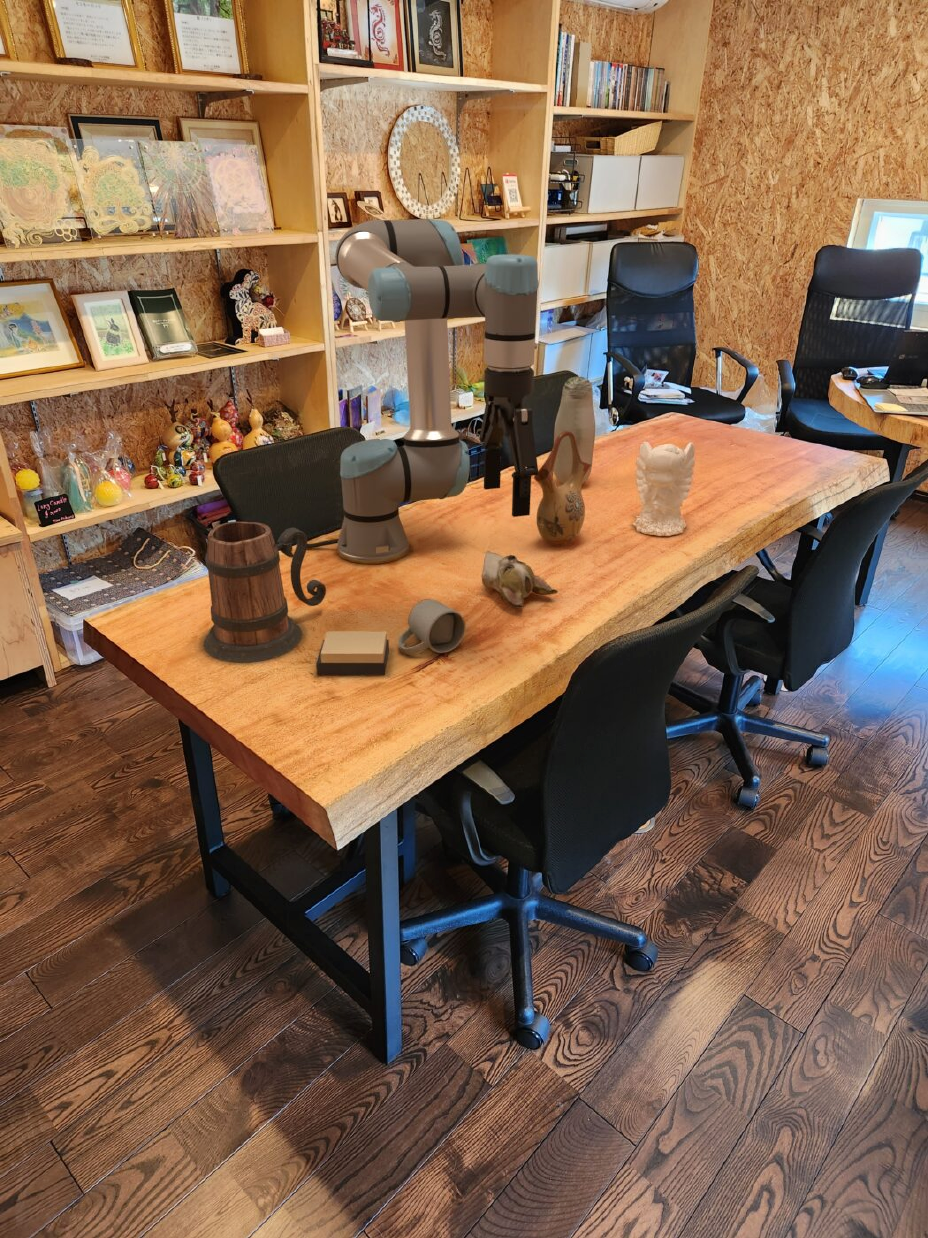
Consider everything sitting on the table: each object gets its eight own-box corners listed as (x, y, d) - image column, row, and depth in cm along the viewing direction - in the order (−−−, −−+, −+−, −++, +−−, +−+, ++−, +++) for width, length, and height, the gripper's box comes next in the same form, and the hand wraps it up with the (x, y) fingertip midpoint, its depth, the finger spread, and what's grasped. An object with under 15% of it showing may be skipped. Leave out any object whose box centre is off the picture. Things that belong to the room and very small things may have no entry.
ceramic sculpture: (507, 535, 163) (563, 563, 153) (504, 574, 167) (558, 603, 158) (466, 550, 157) (522, 580, 147) (465, 590, 161) (519, 621, 152)
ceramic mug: (440, 627, 148) (439, 589, 144) (466, 646, 142) (466, 606, 138) (389, 644, 143) (386, 605, 139) (414, 665, 137) (412, 624, 133)
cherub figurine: (623, 533, 188) (631, 446, 179) (631, 514, 199) (639, 432, 189) (681, 540, 184) (693, 452, 175) (687, 521, 195) (698, 437, 186)
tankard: (234, 673, 134) (217, 560, 125) (186, 636, 145) (167, 529, 135) (351, 627, 148) (344, 522, 139) (300, 596, 159) (290, 497, 150)
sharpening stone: (317, 675, 134) (315, 653, 132) (324, 650, 141) (322, 629, 139) (385, 675, 134) (384, 653, 132) (388, 650, 141) (388, 629, 139)
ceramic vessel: (548, 558, 175) (555, 442, 164) (518, 546, 181) (522, 433, 170) (598, 538, 185) (608, 428, 173) (568, 527, 191) (575, 420, 179)
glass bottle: (546, 481, 221) (551, 374, 208) (581, 477, 224) (588, 371, 210) (560, 493, 212) (567, 382, 199) (596, 489, 215) (606, 379, 202)
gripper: (565, 382, 115) (557, 525, 125) (504, 351, 136) (501, 476, 146) (515, 385, 113) (510, 530, 123) (460, 353, 134) (460, 480, 144)
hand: (505, 501), depth 134 cm, fingers open, 13 cm apart
